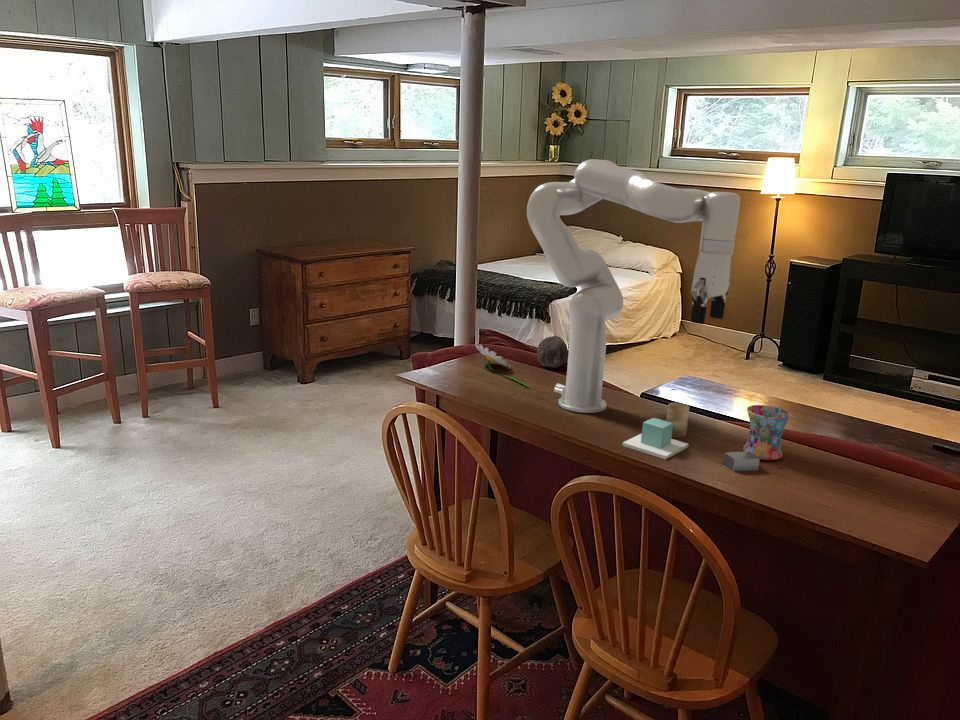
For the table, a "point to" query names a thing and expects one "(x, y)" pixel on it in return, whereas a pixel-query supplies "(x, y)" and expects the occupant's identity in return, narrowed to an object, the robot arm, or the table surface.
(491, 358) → the flower
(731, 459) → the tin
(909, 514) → the table surface
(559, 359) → the rock
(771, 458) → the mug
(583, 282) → the robot arm
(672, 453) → the coaster
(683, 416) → the cork cylinder
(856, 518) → the table surface
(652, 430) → the block
